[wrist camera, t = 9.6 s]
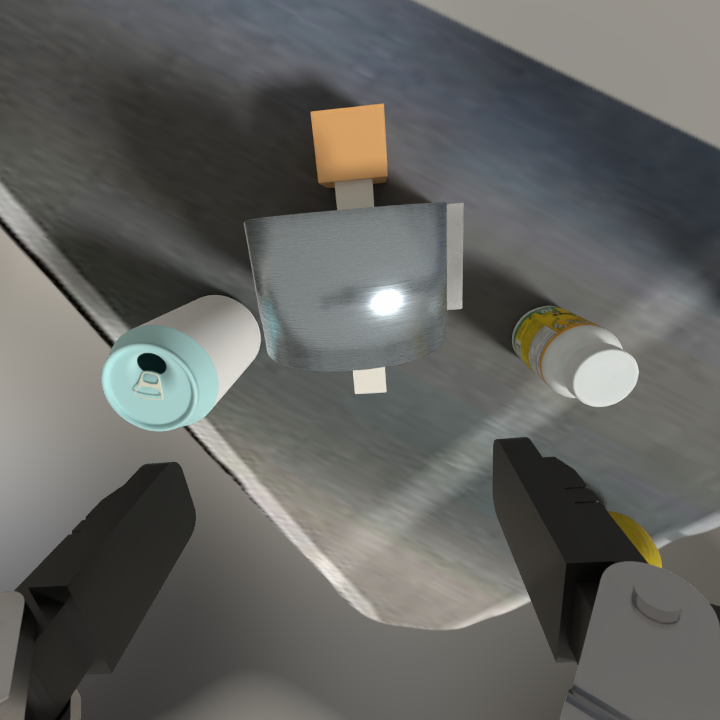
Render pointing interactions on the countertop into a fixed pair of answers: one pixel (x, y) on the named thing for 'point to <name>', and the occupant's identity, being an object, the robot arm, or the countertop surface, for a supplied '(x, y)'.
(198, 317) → the can
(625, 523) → the lemon
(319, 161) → the plug
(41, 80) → the countertop surface
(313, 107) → the countertop surface
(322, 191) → the countertop surface
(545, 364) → the supplement bottle
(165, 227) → the countertop surface
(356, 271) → the cylinder
